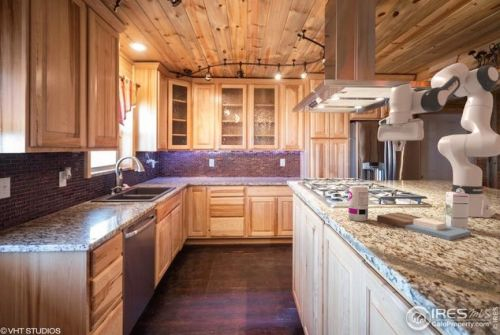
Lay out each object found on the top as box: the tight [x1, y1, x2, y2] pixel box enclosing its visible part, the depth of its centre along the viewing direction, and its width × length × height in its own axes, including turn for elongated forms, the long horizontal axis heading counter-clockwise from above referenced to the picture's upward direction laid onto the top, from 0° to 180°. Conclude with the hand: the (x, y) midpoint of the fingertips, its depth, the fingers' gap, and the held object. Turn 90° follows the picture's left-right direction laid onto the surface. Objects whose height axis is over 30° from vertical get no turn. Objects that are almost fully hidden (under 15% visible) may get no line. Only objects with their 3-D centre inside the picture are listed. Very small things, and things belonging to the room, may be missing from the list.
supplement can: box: [347, 184, 370, 222], centre depth 123 cm, size 8×8×15 cm
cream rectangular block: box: [413, 217, 446, 230], centre depth 107 cm, size 6×9×2 cm, turn 26°
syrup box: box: [444, 191, 469, 230], centre depth 108 cm, size 6×6×14 cm
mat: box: [404, 224, 472, 241], centre depth 104 cm, size 14×16×2 cm
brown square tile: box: [376, 212, 423, 229], centre depth 117 cm, size 14×13×2 cm
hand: (398, 150), depth 124 cm, fingers closed
